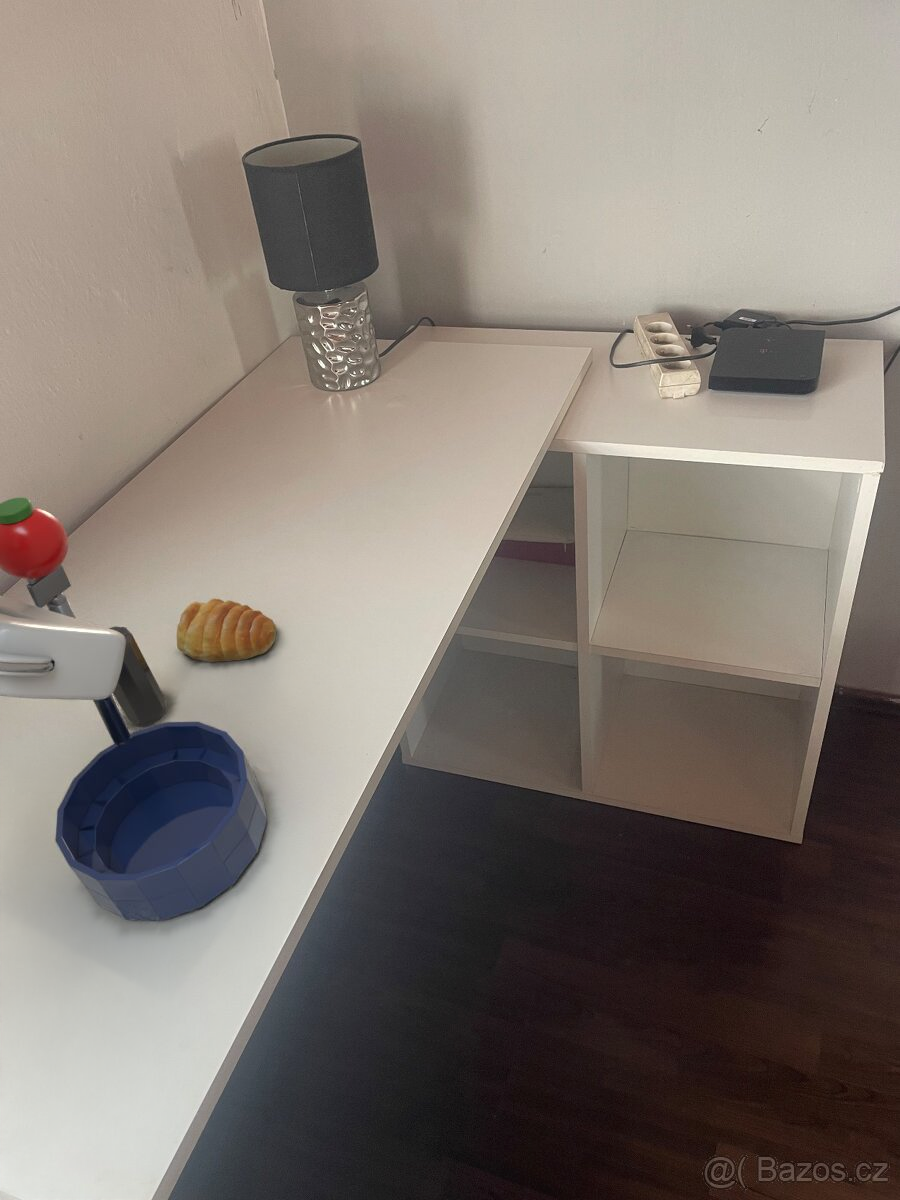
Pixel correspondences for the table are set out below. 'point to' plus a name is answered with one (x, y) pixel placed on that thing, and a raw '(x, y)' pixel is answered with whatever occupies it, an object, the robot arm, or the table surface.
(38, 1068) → the table surface
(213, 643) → the pastry
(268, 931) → the table surface
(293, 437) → the table surface
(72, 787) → the bowl
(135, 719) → the cup
